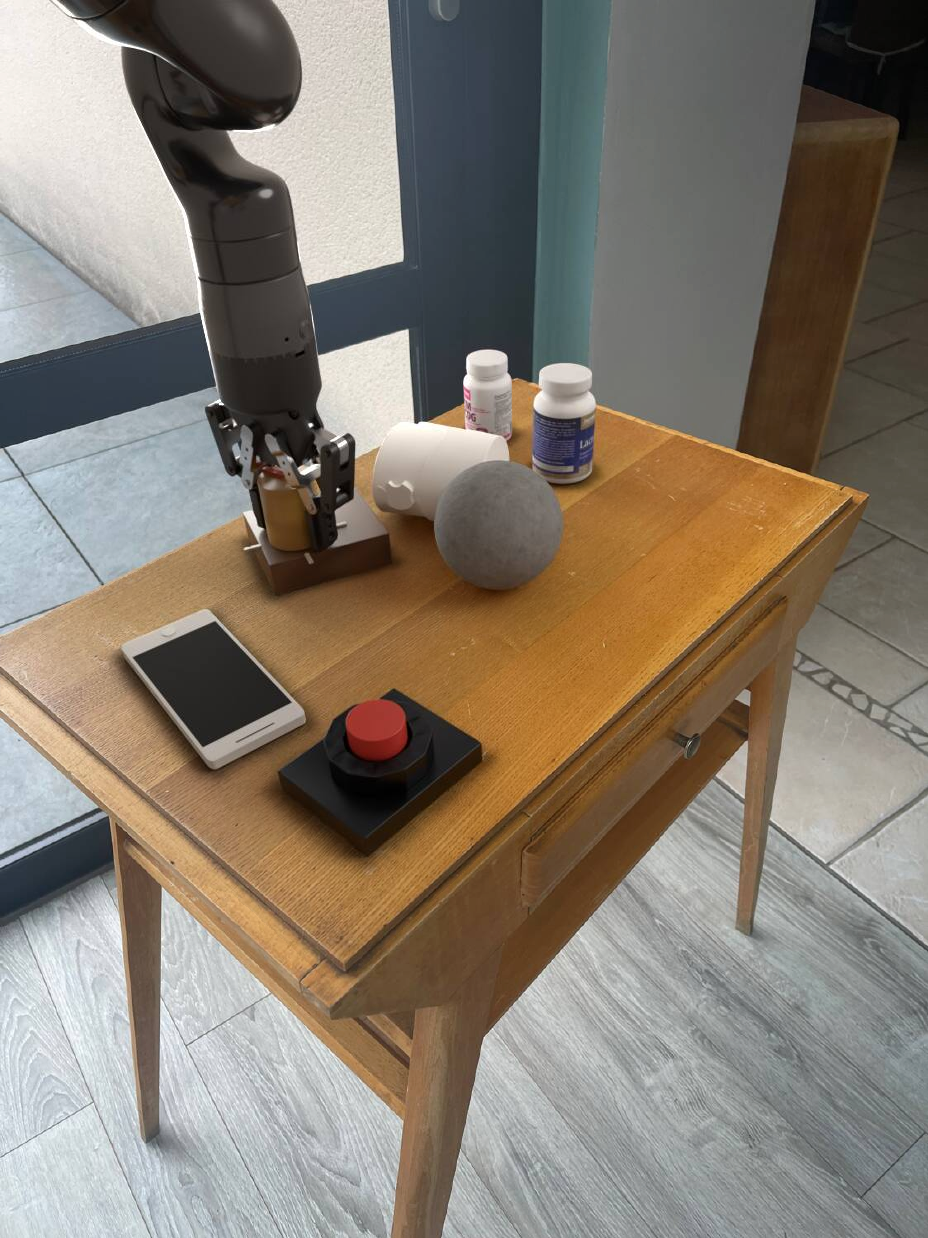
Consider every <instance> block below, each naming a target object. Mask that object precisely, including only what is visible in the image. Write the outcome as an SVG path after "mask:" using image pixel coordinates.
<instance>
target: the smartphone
mask: <svg viewBox="0 0 928 1238" xmlns="http://www.w3.org/2000/svg"><path fill="white" fill-rule="evenodd" d="M120 649H121V652H122V655H123V657H124V659H125V661H126V662H127V663H128V665H129V666H130V667H131V668H132V669H133V671H134V672H135V673H136V675H137V676H138V677H139V678H140V680H141V681H142V683H143V684H144V685H145V686H146V688H147V689H148V690H149V692H150V693H151V694H152V696H153V697H154V698H155V699H156V701H157V702H158V703H159V705H160V706H161V707H162V709H163V710H164V711H165V712H166V714H167V716H169V718H170V720H172V721H173V723H174V724H175V726H177V728H178V729H179V730H180V732H181V733H182V735H183V736H184V737H185V739H186V740H187V741H188V742H189V744H190V745H191V746H192V748H193V749H194V750H195V751H196V753H197V754H198V755H199V757H200V758H201V759H202V761H203V762H204V763H205V764H206V766H207V767H208V768H210V769H211V770H213V771H214V770H218V769H220V768H222V767H223V766H226V765H227V764H230V763H231V762H233V761H235V760H237V759H240V758H241V757H243V756H245V755H247V754H249V753H251V752H252V751H254V750H256V749H258V748H260V747H263V746H264V745H266V744H268V743H270V742H272V741H273V740H275V739H278V738H280V737H281V736H283V735H285V734H288V733H289V732H291V731H293V730H295V729H297V728H298V727H301V726H303V725H304V724H306V722H307V718H306V714H305V710H304V708H303V707H302V706H301V705H300V704H299V703H298V702H297V701H296V700H295V699H294V698H293V696H291V695H290V694H289V693H288V691H287V690H285V688H284V687H283V686H282V685H281V684H280V683H279V682H278V681H277V680H276V679H275V677H273V676H272V674H270V672H269V671H268V670H267V669H266V668H265V667H264V666H263V665H262V664H261V663H260V662H259V661H258V660H257V659H256V657H255V656H254V655H252V654H251V653H250V651H248V649H247V648H246V647H245V646H244V645H243V644H242V643H241V642H240V641H239V640H238V639H237V638H236V637H235V635H234V634H233V633H232V632H231V631H230V630H229V629H228V628H227V627H226V626H225V625H224V624H223V623H222V622H221V621H220V619H218V618H217V616H216V615H215V614H214V613H212V611H210V610H209V609H206V608H203V609H201V610H198V611H196V612H193V613H191V614H189V615H187V616H185V617H182V618H180V619H177V620H175V621H173V622H170V623H168V624H165V625H163V626H161V627H159V628H156V629H154V630H152V631H149V632H148V633H147V632H146V633H145V634H142V635H140V636H137V637H134V638H132V639H131V640H128V641H126V642H123V643H122V644H121V645H120Z"/></svg>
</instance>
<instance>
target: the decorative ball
mask: <svg viewBox="0 0 928 1238" xmlns="http://www.w3.org/2000/svg"><path fill="white" fill-rule="evenodd" d="M563 518H564V517H563V512H562V507H561V504H560V501H559V499H558V497H557V495H556V493H555V491H554V489H553V487H552V486H551V485H550V484H549V482H547V481H545V479H544V478H543V477H542V476H540V475H539V474H538V473H536V472H535V471H534V470H533V468H531V467H529V466H526V465H524V464H521V463H519V462H516V461H510V460H509V461H503V460H493V461H487V462H482V463H479V464H476V465H474V466H472V467H470V468H468V469H466V470H464V471H463V472H461V473H460V474H459V475H458V476H456V477H455V478H454V479H453V480H452V481H451V482H450V484H449V485H448V486H447V487H446V489H445V490H444V492H443V494H442V496H441V498H440V500H439V502H438V505H437V509H436V513H435V520H434V521H433V527H434V529H433V531H434V536H435V542H436V545H437V548H438V550H439V553H440V555H441V557H442V559H443V560H444V561H445V563H446V564H447V566H448V567H449V568H450V569H451V570H452V571H453V572H454V574H456V575H457V576H458V577H459V578H461V579H462V580H464V581H465V582H467V583H469V584H471V585H474V586H475V587H478V588H483V589H487V590H494V591H495V590H497V591H501V590H509V589H514V588H518V587H521V586H524V585H526V584H528V583H530V582H532V581H533V580H535V579H536V578H538V577H539V576H540V575H542V573H543V572H544V571H545V570H547V569H548V567H549V566H550V565H551V563H552V562H553V560H554V559H555V557H556V556H557V553H558V552H559V549H560V546H561V542H562V539H563V532H564V519H563Z"/></svg>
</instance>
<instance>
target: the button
mask: <svg viewBox="0 0 928 1238" xmlns="http://www.w3.org/2000/svg"><path fill="white" fill-rule="evenodd" d="M358 704H359V705H357V706H356V707H354V708H353V709H352V710H351V711H350V712H349V714H348V716H347V718H346V729H347V735H348V741H349V746H350V749H351V750H352V752H353V753H354V754H355V755H356V756H358V757H359V758H362V759H365V760H369V761H381V760H386V759H389V758H392V757H394V756H395V755H397V754H398V753H400V752H401V751H402V750H403V748H404V747H405V745H406V743H407V738H408V737H407V727H406V717H405V713H404V711H403V709H402V708H401V707H400V706H399V705H397V704H396V703H394V702H392V701H388V700H382V699H379V698H377V699H370V700H366V701H362V702H361V704H360V703H358Z"/></svg>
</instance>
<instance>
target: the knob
mask: <svg viewBox="0 0 928 1238" xmlns="http://www.w3.org/2000/svg"><path fill="white" fill-rule="evenodd" d="M308 468H309V466H306V465H305V464H304V465H302V466H300V467H298V470H299V472H300V473H301V472H303V471H304V470H306V469H308ZM257 483H258V488H259V493H260V498H261V503H262V508H263V513H264V518H265V523H266V528H267V533H268V538H269V542H270V544H271V545H272V546H273V547H275V548H276V549H279V550H283V551H299V550H303V549H307V548H309V547H311V545H310V539H309V533H308V528H307V522H306V516H305V512H306V511H307V510H306V508H305V506H304V504H303V501H302V499H301V497H300V495H299V493H298V491H297V489H296V488H292V487H290V486H289V484H288V482H287V480H286V478H285V476H284V473H283V471H282V469H281V468H279V467H278V466H276V465H275V467H272V468H271V467H268V466H266V467H264V468H263V469H262V473H261V474H260V476H259V477H258V480H257ZM316 485H317V483H316V480H313V481H312V482H311V487H312V489H313V492H314V494H315V495H316V494H317V493H318V491H317V486H316Z"/></svg>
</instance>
